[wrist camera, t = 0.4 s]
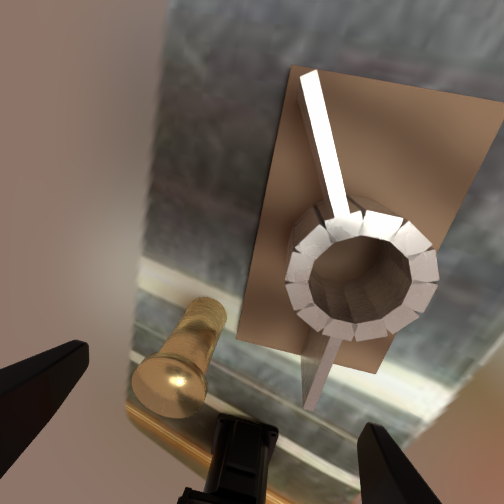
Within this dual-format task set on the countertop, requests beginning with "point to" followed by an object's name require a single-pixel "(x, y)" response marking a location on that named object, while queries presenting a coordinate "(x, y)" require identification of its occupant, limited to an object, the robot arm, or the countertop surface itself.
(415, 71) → the countertop surface
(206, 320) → the hinge pin
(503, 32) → the countertop surface
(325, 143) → the hinge
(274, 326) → the walnut board
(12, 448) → the robot arm
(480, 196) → the countertop surface
